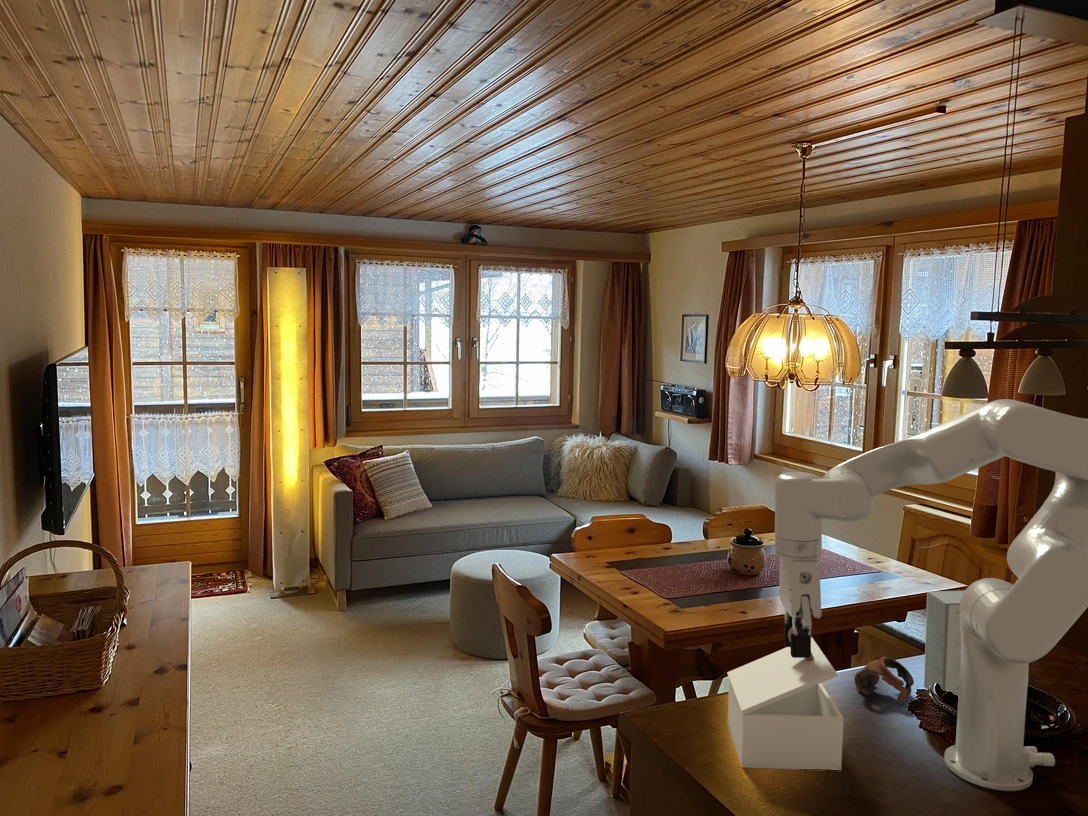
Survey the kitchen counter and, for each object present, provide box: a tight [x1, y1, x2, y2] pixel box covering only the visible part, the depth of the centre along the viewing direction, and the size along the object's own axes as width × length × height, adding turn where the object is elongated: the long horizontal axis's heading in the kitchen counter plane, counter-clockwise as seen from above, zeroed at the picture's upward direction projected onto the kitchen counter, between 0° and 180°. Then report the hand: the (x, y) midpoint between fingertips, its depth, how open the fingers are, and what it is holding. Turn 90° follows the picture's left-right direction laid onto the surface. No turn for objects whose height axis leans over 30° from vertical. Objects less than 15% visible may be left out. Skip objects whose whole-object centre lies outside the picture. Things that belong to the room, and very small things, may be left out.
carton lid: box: [726, 625, 838, 715], centre depth 134 cm, size 16×14×7 cm
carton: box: [727, 678, 844, 771], centre depth 135 cm, size 16×14×9 cm
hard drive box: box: [923, 589, 966, 696], centre depth 155 cm, size 16×8×20 cm, turn 92°
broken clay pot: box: [854, 656, 915, 705], centre depth 155 cm, size 12×10×8 cm
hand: (797, 650), depth 134 cm, fingers closed on carton lid, 3 cm apart
